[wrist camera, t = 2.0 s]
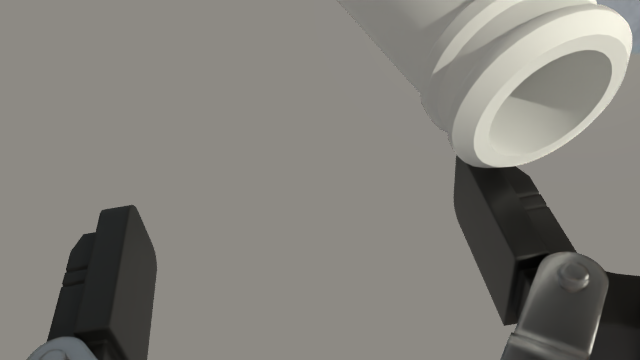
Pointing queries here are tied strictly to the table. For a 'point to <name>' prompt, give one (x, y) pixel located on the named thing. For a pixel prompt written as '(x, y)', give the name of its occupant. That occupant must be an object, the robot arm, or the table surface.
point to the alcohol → (503, 68)
